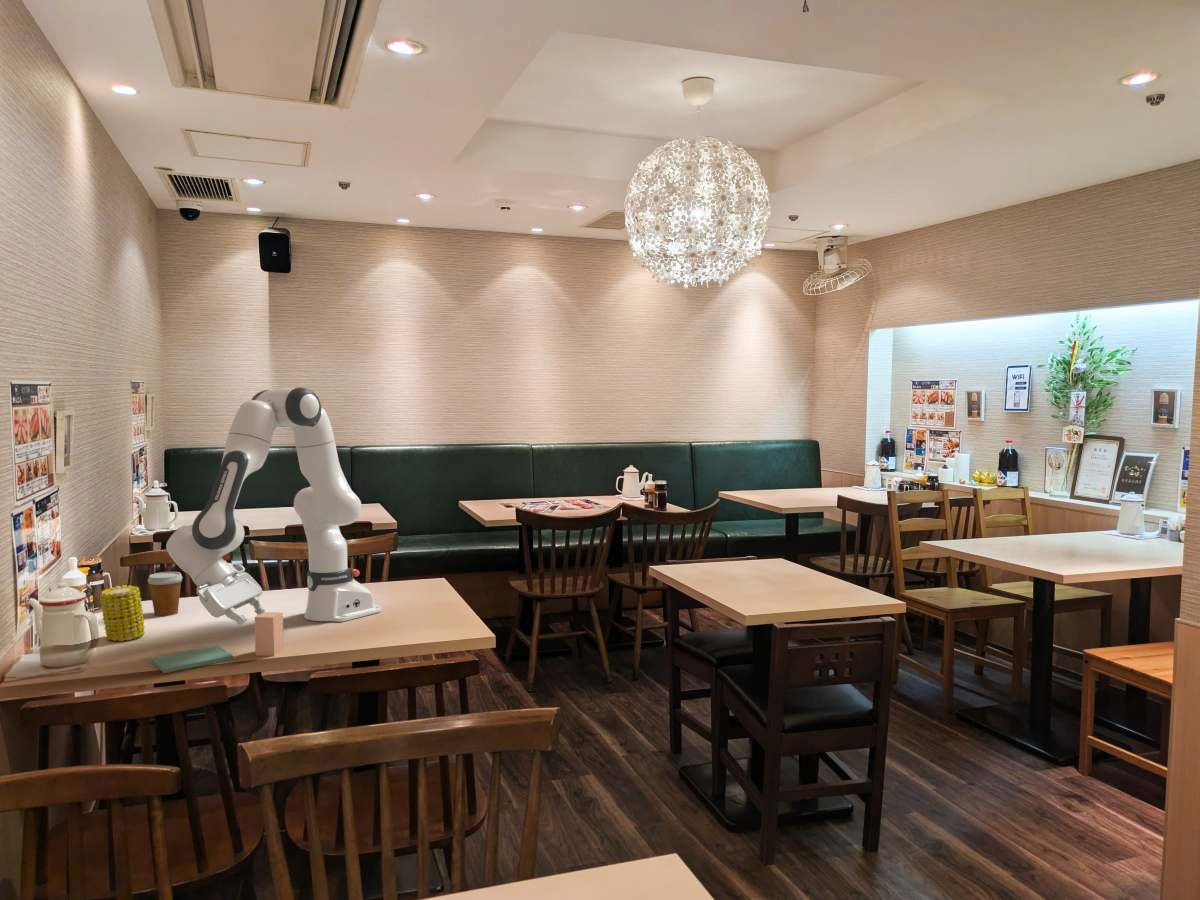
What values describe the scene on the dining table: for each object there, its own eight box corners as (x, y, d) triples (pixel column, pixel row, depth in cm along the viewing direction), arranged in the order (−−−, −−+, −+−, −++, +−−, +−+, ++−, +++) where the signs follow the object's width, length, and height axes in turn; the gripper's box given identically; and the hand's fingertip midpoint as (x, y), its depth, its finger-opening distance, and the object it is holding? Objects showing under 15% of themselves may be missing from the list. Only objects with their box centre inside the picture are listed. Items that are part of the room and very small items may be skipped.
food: (151, 640, 231) (115, 652, 223) (126, 625, 237) (90, 636, 228) (155, 590, 228) (118, 599, 219) (129, 576, 233) (92, 584, 225)
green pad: (218, 649, 219) (218, 645, 219) (233, 659, 211) (232, 655, 211) (151, 662, 208) (151, 658, 208) (164, 673, 200) (163, 669, 200)
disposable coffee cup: (183, 615, 252) (182, 576, 251) (147, 619, 248) (146, 579, 247) (184, 608, 260) (182, 570, 260) (149, 611, 256) (148, 573, 255)
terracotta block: (265, 649, 219) (264, 611, 219) (283, 650, 219) (282, 612, 218) (255, 655, 214) (254, 616, 214) (274, 655, 214) (273, 617, 213)
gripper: (201, 579, 206) (239, 620, 206) (245, 563, 226) (280, 600, 226) (184, 597, 207) (223, 637, 206) (229, 579, 227) (264, 615, 227)
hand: (253, 617), depth 216 cm, fingers open, 8 cm apart
